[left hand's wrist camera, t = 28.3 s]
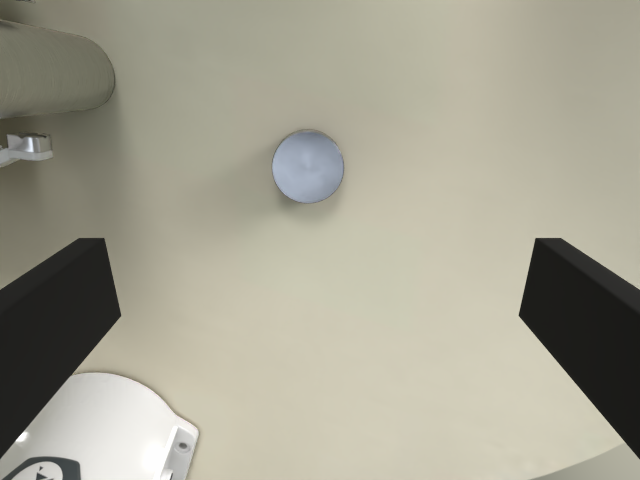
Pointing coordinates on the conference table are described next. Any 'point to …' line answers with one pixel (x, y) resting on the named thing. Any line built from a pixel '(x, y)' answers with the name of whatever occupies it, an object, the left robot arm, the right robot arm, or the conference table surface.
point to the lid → (308, 166)
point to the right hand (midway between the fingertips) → (38, 72)
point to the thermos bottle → (50, 71)
